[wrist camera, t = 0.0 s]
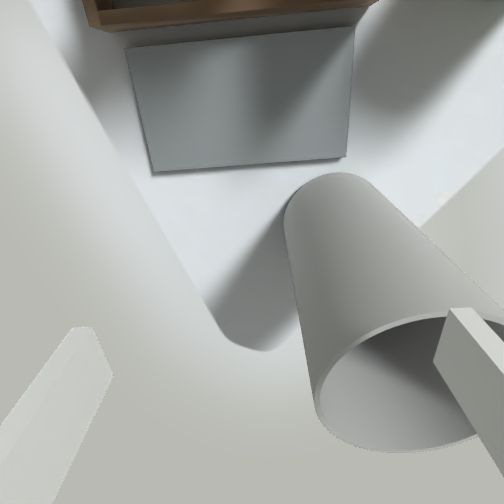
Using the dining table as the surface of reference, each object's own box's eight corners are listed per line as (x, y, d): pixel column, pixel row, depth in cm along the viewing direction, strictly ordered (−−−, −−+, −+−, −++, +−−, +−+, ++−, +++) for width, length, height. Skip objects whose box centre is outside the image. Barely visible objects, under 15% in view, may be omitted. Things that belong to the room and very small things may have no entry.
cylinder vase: (269, 191, 38) (286, 348, 16) (372, 154, 35) (554, 280, 14) (298, 271, 44) (340, 466, 22) (388, 244, 41) (535, 432, 20)
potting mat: (128, 49, 31) (124, 48, 30) (352, 27, 30) (355, 25, 29) (156, 169, 37) (153, 171, 36) (343, 154, 36) (346, 157, 35)
